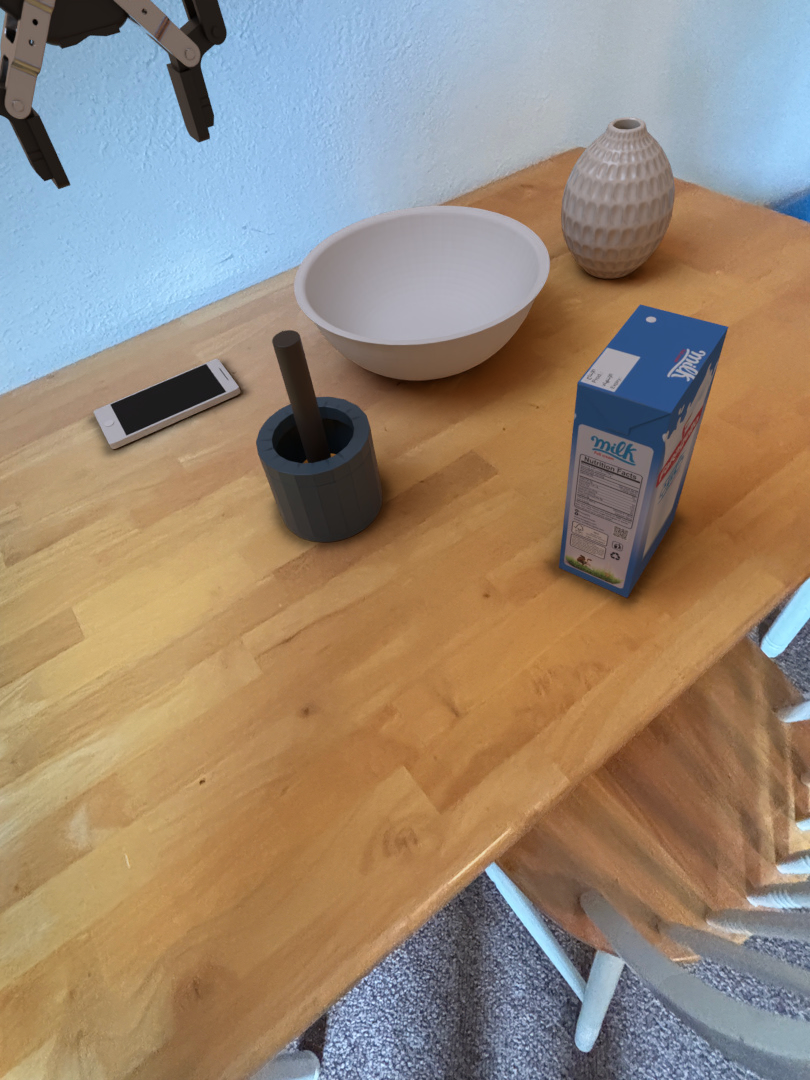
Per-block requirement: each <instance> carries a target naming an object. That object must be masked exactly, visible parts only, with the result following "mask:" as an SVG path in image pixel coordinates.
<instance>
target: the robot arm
mask: <svg viewBox="0 0 810 1080" xmlns="http://www.w3.org/2000/svg"><path fill="white" fill-rule="evenodd" d="M181 2H182V6H183V8H184V9H183V10H184V12H185V15H186V19H187V21H186V22H185V23H184V24H183V25H182V26H181V27H180V28H179V27H178V26H177V25H176V23H174V22H173V21H172V20H171V19H170V17H169V16H168V15H167V14H166V13H165V12H164V11H162V9H160V7H158V6H157V5H156V4H155V3H154V2H153V1H152V0H0V9H1V11H3V12H4V18H3V25H2V29H1V30H2V31H1V38H0V116H1V117H4V118H5V119H7V120H8V122H9V124H10V126H11V127H12V130H13V132H14V134H15V136H16V138H17V140H18V142H19V144H20V146H21V148H22V150H23V153H24V154H25V157H26V159H27V161H28V163H29V165H30V166H31V168H32V169H33V170H34V172H35V173H36V175H37V176H39V177H40V179H42V180H43V182H48V181H50V180H51V181H52V183H53V184H54V185H55V187H56V188H57V190H60V189H64V188H67V187H70V186H71V182H70V179H69V178H68V176H67V172H66V171H65V169H64V167H63V164H62V162H61V160H60V158H59V156H58V153H57V151H56V149H55V147H54V143H53V142H52V140H51V137H50V135H49V133H48V131H47V129H46V127H45V125H44V122H43V120H42V118H41V115H39V113H38V112H37V111H36V109H34V107H33V102H34V96H35V90H36V85H37V79H38V76H39V75H40V73H41V71H42V68H43V62H44V58H45V51H46V46H47V45H51V46H53V47H54V46H55V47H59V48H61V50H62V49H66V48H70V47H74V46H77V45H79V43H82V42H83V41H84V40H86V39H87V38H89V37H110V36H112V35H116V34H120V33H121V30H120V29H121V28H122V27H123V26H125V24H126V22H127V21H130V22H131V23H132V25H134V26H135V27H137V28H138V29H139V30H140V31H142V32H143V33H144V34H145V35H146V36H147V37H148V38H149V39H150V40H152V41H153V42H154V43H155V44H156V45H157V46H158V47H160V48H161V49H162V50H163V51H164V52H165V53H166V54H167V55H168V58H169V61H170V63H166V64H165V65H166V69H167V71H168V75H169V78H170V82H171V85H172V87H173V88H172V89H173V91H174V95H175V97H176V100H177V103H178V107H179V110H180V113H181V117H182V120H183V123H184V126H185V129H186V131H187V133H188V135H189V136H190V137H191V138H192V139H193V140H195V142H197V143H202V142H205V141H207V140H208V141H209V140H210V139H211V133H210V130H209V128H211V127H214V126H215V114H214V110H213V106H212V103H211V100H210V97H209V96H210V95H209V92H208V88H207V85H206V81H205V77H204V74H203V71H202V70H203V69H202V60H203V57H204V56H205V54H206V53H207V52H208V51H209V50H211V49H212V48H213V47H214V46H220V45H222V44H223V43H224V42H225V41H226V39H227V36H228V35H227V34H228V33H227V26H226V23H225V20H224V16H223V13H222V10H221V7H220V4H219V0H181Z"/></svg>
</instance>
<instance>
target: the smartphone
mask: <svg viewBox="0 0 810 1080" xmlns="http://www.w3.org/2000/svg"><path fill="white" fill-rule="evenodd" d="M240 394H241V389H240V386H239V384H237V382H236V380H235V379H234V378H233V377H232V375H231V374H230V373H229V372H228V370H227V369H226V367H225V366H224V365H223V363H222V362H221V360H219V359H218V358H214V359H211V360H209V361H207V362H204V363H202V364H200V365H198V366H195V367H193V368H190V369H187V370H186V371H183V372H181V373H178V374H176V375H174V376H171V377H169V378H166V379H164V380H162V381H160V382H157V383H155V384H153V385H150V386H147V387H145V388H143V389H140V390H139V391H136V392H134V393H132V394H129V395H127V396H123V397H122V398H119V399H117V400H115V401H112V402H109V403H107V404H105V405H103V406H101V407H98V408H96V409H95V410H94V411H93V414H94V417H95V418H96V419H95V420H96V421H97V423H98V425H99V427H100V429H101V431H102V433H103V435H104V437H105V439H106V441H107V443H108V444H109V447H110V448H111V449H112V450H115V449H119V448H121V447H123V446H125V445H127V444H130V443H133V442H134V441H137V440H139V439H141V438H143V437H146V436H148V435H150V434H152V433H154V432H157V431H159V430H162V429H163V428H166V427H169V426H170V425H173V424H176V423H177V422H180V421H182V420H184V419H186V418H188V417H191V416H193V415H195V414H198V413H201V412H202V411H204V410H207V409H209V408H212V407H214V406H216V405H218V404H221V403H223V402H224V401H225V402H226V401H227V400H229V399H232V398H234V397H236V396H238V395H240Z"/></svg>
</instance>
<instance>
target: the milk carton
mask: <svg viewBox="0 0 810 1080" xmlns="http://www.w3.org/2000/svg"><path fill="white" fill-rule="evenodd" d="M728 329H729V326H727V325H723V324H720V323H715V322H711V321H708V320H704V319H700V318H695V317H691V316H688V315H684V314H680V313H676V312H671V311H669V310H664V309H661V308H657V307H652V306H649V305H644V304H639V305H638V306H637V308H636V309H635V310H634V311H633V312H632V314H631V315H630V316H629V318H627V320H626V321H625V322H624V324H622V326H621V328H620V329H618V331H617V332H616V333H615V335H614V336H613V337H612V339H610V341H609V343H608V344H607V345H606V346H605V348H604V349H603V350H602V351H601V352H600V354H599V355H598V356H597V357H596V358H595V360H594V361H593V362H592V364H591V365H590V366H589V367H588V369H586V371H585V372H584V374H583V375H582V376H581V377H580V379H579V380H577V383H576V384H577V386H576V395H575V405H574V414H573V423H572V432H571V433H572V434H571V436H572V437H571V444H570V453H569V462H568V463H569V465H568V472H567V473H568V474H567V481H566V492H565V494H566V495H565V502H564V503H565V504H564V512H563V513H564V514H563V524H562V533H561V544H560V552H559V561H558V569H561V570H563V571H565V572H568V573H570V574H572V575H574V576H576V577H579V578H581V579H583V580H584V581H585V580H586V581H587V582H590V583H591V584H594V585H597V586H599V587H602V588H603V589H606V590H608V591H610V592H612V593H615V594H617V595H619V596H622V597H624V598H626V599H628V598H629V596H630V594H632V591H633V589H634V587H635V586H636V584H637V582H638V581H639V579H640V578H641V576H642V574H643V572H644V570H645V569H646V567H647V566H648V564H649V562H650V561H651V559H652V558H653V556H654V554H655V552H656V550H657V549H658V547H659V546H660V544H661V542H662V540H663V539H664V537H665V535H666V533H667V532H668V530H669V528H670V527H671V525H672V524H673V522H674V521H675V517H676V513H677V510H678V506H679V502H680V499H681V495H682V492H683V488H684V484H685V481H686V478H687V474H688V472H689V471H688V470H689V468H690V463H691V460H692V457H693V453H694V450H695V446H696V442H697V439H698V437H699V432H700V429H701V425H702V421H703V418H704V415H705V411H706V407H707V403H708V400H709V397H710V393H711V390H712V386H713V384H714V383H713V382H714V379H715V377H716V372H717V369H718V365H719V362H720V358H721V354H722V352H723V347H724V344H725V340H726V337H727V332H728Z"/></svg>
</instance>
